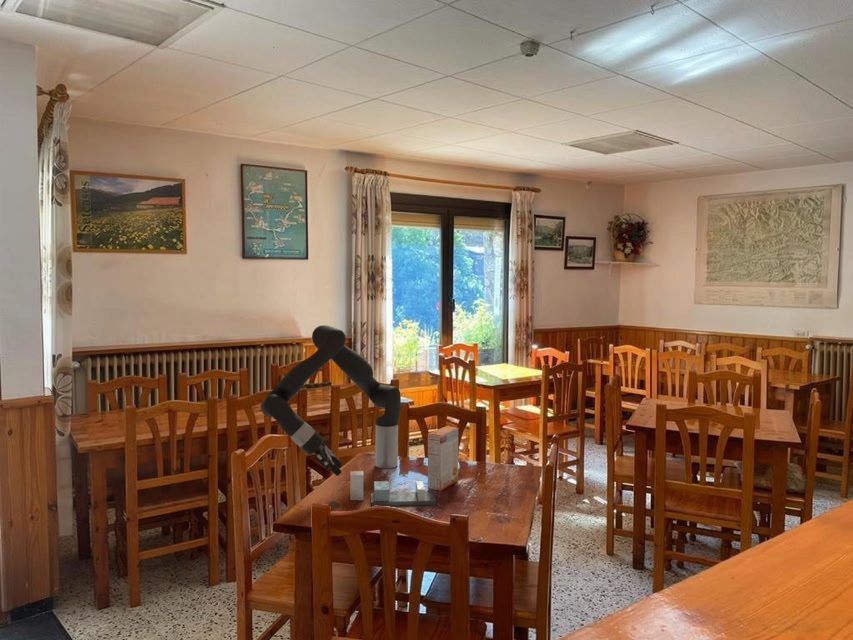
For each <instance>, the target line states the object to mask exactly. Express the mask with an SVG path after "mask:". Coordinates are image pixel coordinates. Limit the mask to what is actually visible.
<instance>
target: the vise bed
mask: <svg viewBox="0 0 853 640" xmlns="http://www.w3.org/2000/svg"><path fill="white" fill-rule="evenodd" d="M370 501H371V502H370V503H372V505H371V507H375V506H374V505H388V506H387V507H396V506H397V507H401V506H403V505H404V506H405V507H406V506H408V505H410V506H435V505H437V498H436V496H435V493H434V491H426V487H425V485H424V481H423V480H416V481H415V491H412V492H411V491H408V492H407V491H406V492H404V491H402V492H389V501H375V500H374V492H371V493H370ZM404 506H403V507H404Z"/></svg>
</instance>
